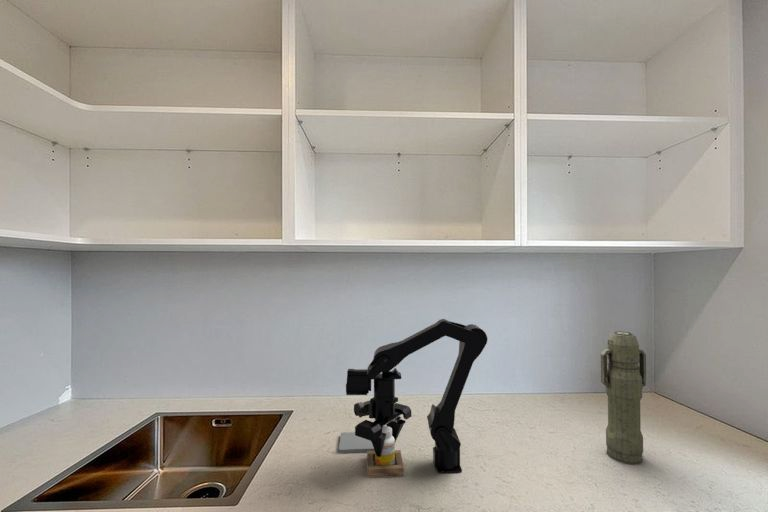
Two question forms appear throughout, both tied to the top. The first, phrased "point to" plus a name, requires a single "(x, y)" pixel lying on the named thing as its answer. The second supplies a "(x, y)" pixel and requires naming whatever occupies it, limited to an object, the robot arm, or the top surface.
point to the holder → (385, 470)
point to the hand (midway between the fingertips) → (384, 451)
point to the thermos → (624, 396)
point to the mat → (354, 443)
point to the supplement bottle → (387, 449)
